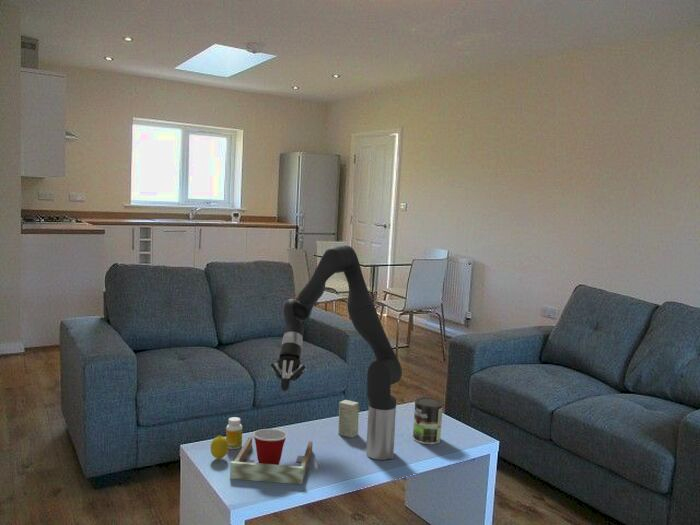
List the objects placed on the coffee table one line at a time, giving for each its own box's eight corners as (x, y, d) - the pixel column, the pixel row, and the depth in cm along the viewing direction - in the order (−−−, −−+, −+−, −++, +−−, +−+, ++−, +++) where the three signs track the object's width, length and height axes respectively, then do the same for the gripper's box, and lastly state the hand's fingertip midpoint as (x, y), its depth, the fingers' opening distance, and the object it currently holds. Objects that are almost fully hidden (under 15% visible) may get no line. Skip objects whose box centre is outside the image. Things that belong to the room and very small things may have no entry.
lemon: (212, 464, 192) (213, 440, 191) (208, 457, 197) (209, 433, 196) (229, 461, 195) (230, 437, 194) (225, 454, 200) (225, 431, 199)
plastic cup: (291, 465, 194) (292, 429, 193) (278, 479, 184) (279, 441, 183) (260, 460, 197) (261, 424, 196) (245, 473, 187) (247, 436, 185)
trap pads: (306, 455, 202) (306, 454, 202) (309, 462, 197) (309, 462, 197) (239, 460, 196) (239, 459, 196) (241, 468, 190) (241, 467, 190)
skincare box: (358, 434, 222) (360, 402, 221) (352, 438, 219) (353, 405, 218) (343, 430, 226) (345, 398, 225) (337, 434, 222) (338, 401, 221)
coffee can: (426, 446, 214) (428, 408, 213) (406, 437, 223) (409, 399, 221) (446, 441, 221) (449, 403, 219) (427, 431, 229) (429, 395, 227)
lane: (312, 451, 206) (312, 437, 205) (301, 484, 182) (302, 468, 181) (248, 446, 207) (248, 432, 206) (229, 478, 183) (230, 462, 182)
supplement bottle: (238, 450, 204) (239, 422, 203) (223, 448, 205) (224, 420, 204) (244, 444, 209) (245, 417, 208) (229, 442, 210) (230, 415, 209)
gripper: (272, 340, 217) (264, 383, 206) (308, 342, 217) (302, 385, 206) (274, 351, 223) (267, 393, 212) (310, 353, 222) (304, 396, 211)
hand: (284, 389), depth 209 cm, fingers closed
